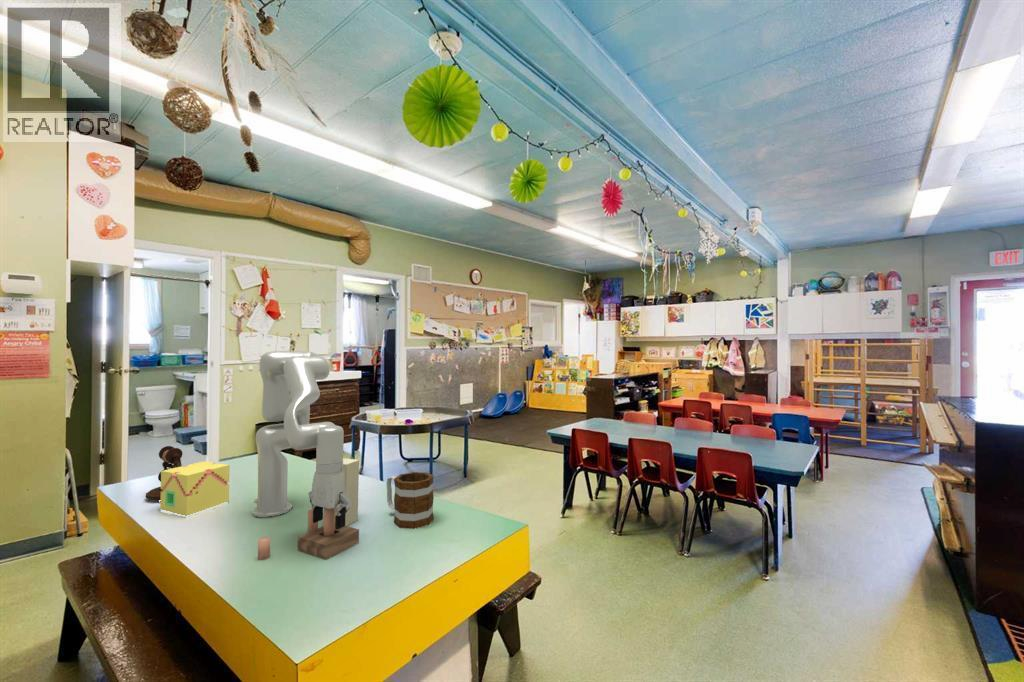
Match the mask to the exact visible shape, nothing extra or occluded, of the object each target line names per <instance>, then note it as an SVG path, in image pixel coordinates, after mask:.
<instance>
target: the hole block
mask: <svg viewBox="0 0 1024 682" xmlns="http://www.w3.org/2000/svg"><path fill="white" fill-rule="evenodd" d="M359 542H360V528H354V527H351V526H349V525H348V526H344V527H342V528H339V529H335V527H334V535H332V536H330V537H325V536H324V525H322V526H320V527H318V528H317V529H315V530H313V531H310V532H308V531H307V532H306V533H303V534H301V535H300V536H299V535H298V536H297V551H298V552H302V553H304V554H308V555H310V556H314V557H316V558H320V559H322V560H326V561H327V560H328V559H330V558H331V557H334V556H336V555H339V554H340V553H342V552H343V551H345V550H347V549H349V548H352V547H353V546H355V545H357V544H358V543H359Z"/></svg>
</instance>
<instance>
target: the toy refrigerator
mask: <svg viewBox="0 0 1024 682" xmlns="http://www.w3.org/2000/svg"><path fill="white" fill-rule="evenodd" d="M343 472H344V478H345V488H346V496H347V497H348V498H349V499H350V500H351V505H350V507H349V510H348V511H347V513H345V526H348V527H349V525H352V524H355V522H357V521H358V520H359V518H358V517H359V484H360V483H359V482H360V481H359V477H360V476H359V475H360V474H359V473H360V459H355V458H354V459H353V458H346V457H343ZM338 508H339V510H341V507H338ZM336 515H337V513H336V511H335V516H336Z"/></svg>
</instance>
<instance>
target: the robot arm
mask: <svg viewBox="0 0 1024 682" xmlns="http://www.w3.org/2000/svg"><path fill="white" fill-rule="evenodd" d="M258 367H259V372H260V375H261V379H262V386H263V387H262V401H261V402H262V404H261V405H262V406H261V415H262V418H263V420H265V421H266V422H272V423H273V422H283V423H277V424H268V425H265V426H263V427H262V426H261V428H259V429H258V430H257V431H256V433H255V444H256V445H255V446H256V451H257V498H255V499H254V500H253V503H254V504H256V507H255V508H253V510H251V512H252V516H253V515H254V517H256V516H257V518H270V517H269V516H272V517H276V516H275V515H277V516H280V514H281V515H284V514H287V513H288V512H290V511H291V510H292V509H291V508H292V507H293V506H292V504H291V503H290V502H288V483H289V482H288V481H289V480H288V479H289V478H288V477H289V476H288V472H289V471H288V467H289V466H288V463H289V462H288V459H287V457H286V456H285V455H284V454H283V453H282V451H283V450H288V449H293V450H294V451H302V450H309V449H314V448H316V449H315V450H316V453H315V455H316V458H315V459H316V461H315V462H316V463H315V464H316V466H315V471H314V474H313V478H312V485H311V491H309V492H308V497H309V502H310V504H311V509H314V510H313V523H316V522H318V523H319V522H320V521H322V520H323V521H324V508H327V509H335V511H336V513H337V515H336V516H335V529H339V528H342V527H344V526H345V513H347V511H348V510H349V507H350V505H351V500H350V499H349V498H348V497H347V496H346V488H345V478H344V472H343V458H344V439H345V438H344V437H345V436H344V433H345V431H344V428H343V427H342V426H340V425H336V424H335V423H333V422H331V421H322V422H314V423H313V422H312V423H310V415H311V414H310V413H311V407H310V405H312V404H314V403H315V402H316V401H317V400H319V398H320V397H321V391H320V388H319V386H318V383H317V381H323V380H326V379H327V378H328V377H329V376H330V371H331V370H330V369H331V368H330V364H329V362H328V359H326V358H325V357H324V356H323V355H321V354H318V353H316V352H313V351H306V350H305V351H303V350H301V351H300V350H294V351H293V350H276V351H275V350H274V351H268V352H265V353H263V354H262V355H261V356H260V359H259V365H258ZM338 507H341V510H339V508H338ZM289 510H290V511H289ZM283 513H284V514H283Z"/></svg>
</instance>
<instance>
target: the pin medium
mask: <svg viewBox="0 0 1024 682" xmlns="http://www.w3.org/2000/svg"><path fill="white" fill-rule="evenodd" d="M313 510H314V509H312V508H311V509H308V510H307V533H308V532H310V531H313V530H315V529H317V528H319V521H318V522H316V523H313Z"/></svg>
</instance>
